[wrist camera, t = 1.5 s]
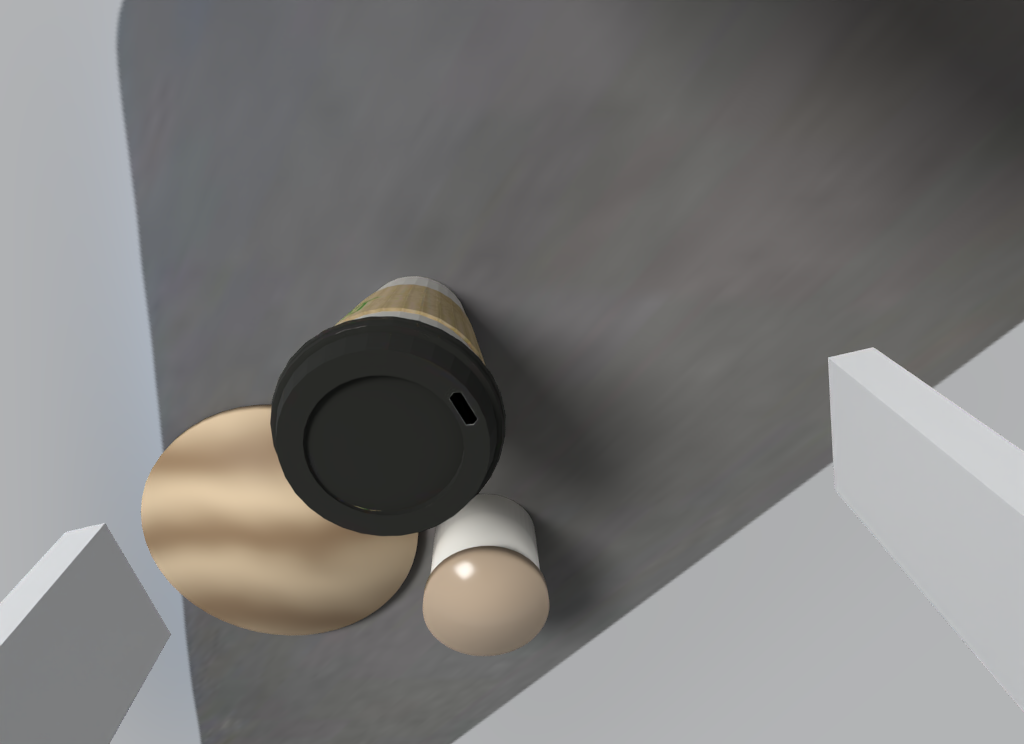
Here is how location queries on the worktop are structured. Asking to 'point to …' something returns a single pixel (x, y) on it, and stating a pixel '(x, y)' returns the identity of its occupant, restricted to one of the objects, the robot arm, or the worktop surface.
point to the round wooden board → (259, 535)
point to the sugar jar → (486, 579)
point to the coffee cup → (390, 413)
